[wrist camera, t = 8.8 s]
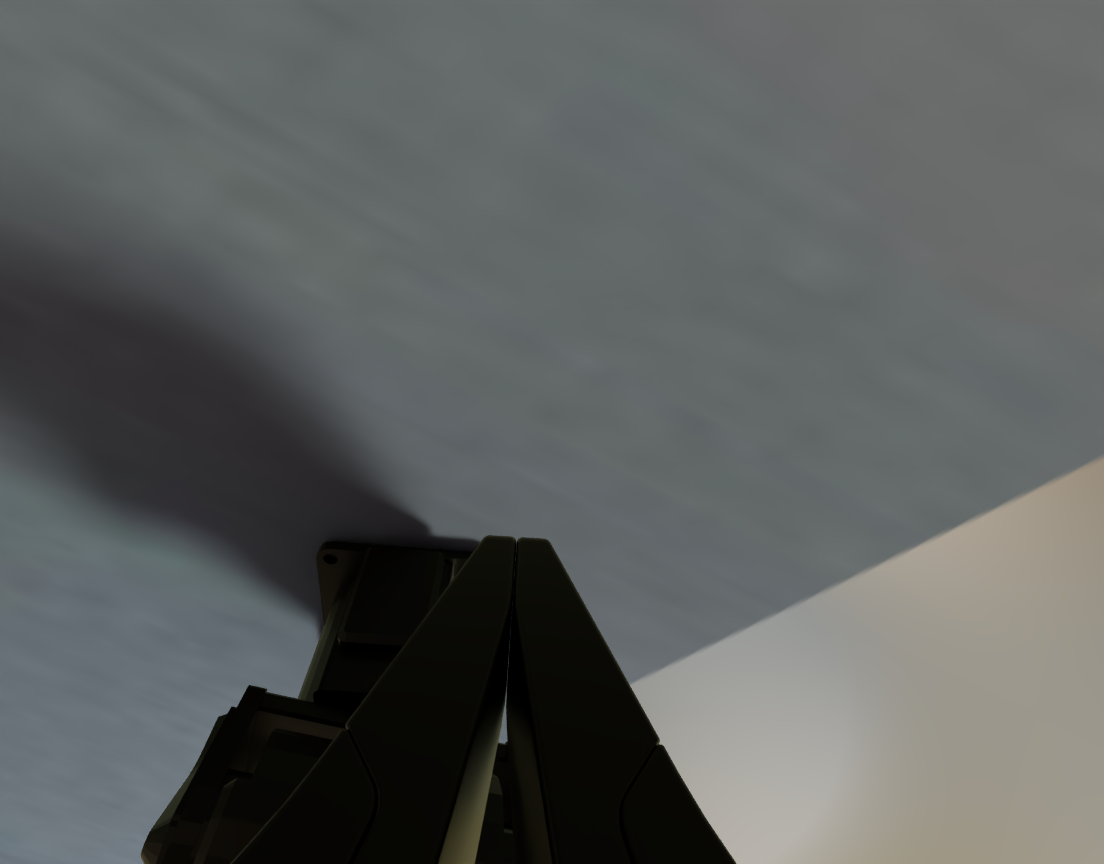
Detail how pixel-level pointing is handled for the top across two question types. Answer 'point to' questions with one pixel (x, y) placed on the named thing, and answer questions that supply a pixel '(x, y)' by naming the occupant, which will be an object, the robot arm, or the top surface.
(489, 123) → the top surface
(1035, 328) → the top surface
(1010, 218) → the top surface
